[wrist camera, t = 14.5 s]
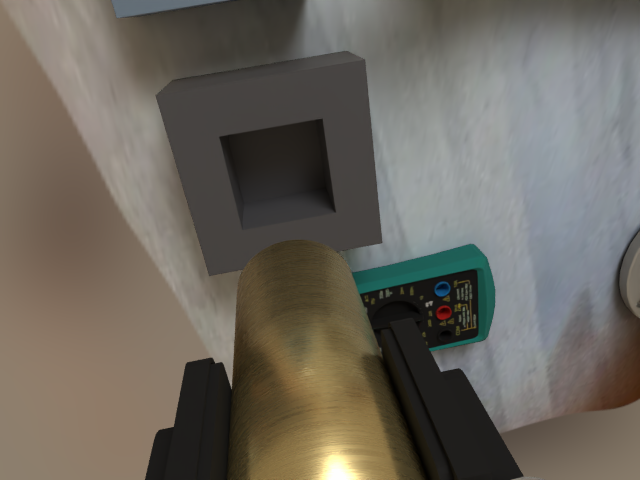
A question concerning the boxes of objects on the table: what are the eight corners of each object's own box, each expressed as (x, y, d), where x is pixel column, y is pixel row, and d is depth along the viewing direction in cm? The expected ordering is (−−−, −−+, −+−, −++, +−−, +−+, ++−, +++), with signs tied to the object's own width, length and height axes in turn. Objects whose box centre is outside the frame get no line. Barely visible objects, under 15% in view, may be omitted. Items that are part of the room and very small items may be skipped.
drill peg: (359, 326, 15) (505, 765, 6) (251, 348, 15) (248, 828, 6) (346, 229, 14) (519, 639, 5) (225, 252, 14) (171, 721, 5)
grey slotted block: (364, 209, 31) (382, 243, 27) (216, 237, 31) (209, 275, 26) (346, 50, 27) (364, 59, 22) (172, 80, 26) (155, 95, 22)
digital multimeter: (481, 320, 38) (499, 344, 35) (293, 362, 37) (296, 390, 34) (480, 237, 34) (500, 256, 31) (272, 282, 33) (274, 306, 31)
